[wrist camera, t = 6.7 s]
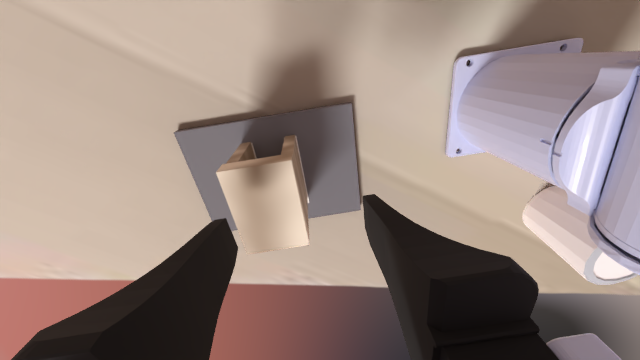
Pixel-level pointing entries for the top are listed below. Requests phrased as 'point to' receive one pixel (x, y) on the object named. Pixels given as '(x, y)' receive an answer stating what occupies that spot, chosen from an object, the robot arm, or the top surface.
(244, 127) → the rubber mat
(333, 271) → the top surface
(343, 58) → the top surface
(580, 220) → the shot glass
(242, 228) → the two-pronged tan block
